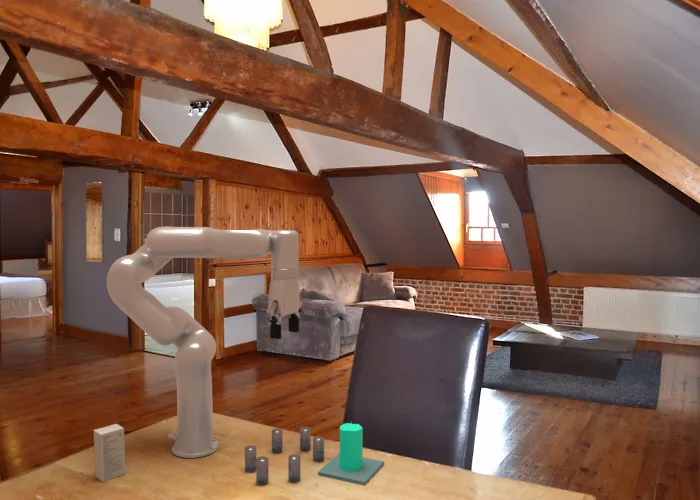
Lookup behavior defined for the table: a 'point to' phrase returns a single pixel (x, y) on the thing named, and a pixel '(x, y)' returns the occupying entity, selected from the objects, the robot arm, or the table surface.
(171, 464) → the table surface
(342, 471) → the mat
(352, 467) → the candle
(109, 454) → the skincare box
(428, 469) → the table surface
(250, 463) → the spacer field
